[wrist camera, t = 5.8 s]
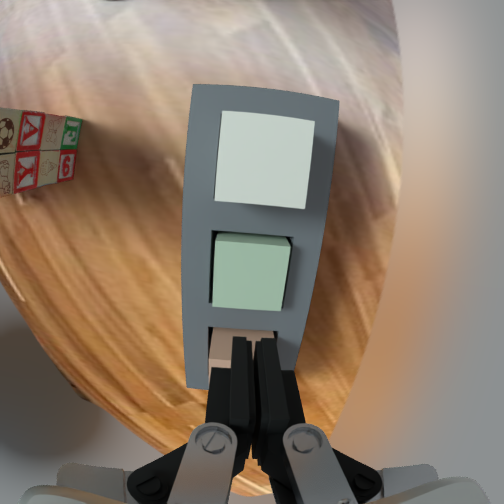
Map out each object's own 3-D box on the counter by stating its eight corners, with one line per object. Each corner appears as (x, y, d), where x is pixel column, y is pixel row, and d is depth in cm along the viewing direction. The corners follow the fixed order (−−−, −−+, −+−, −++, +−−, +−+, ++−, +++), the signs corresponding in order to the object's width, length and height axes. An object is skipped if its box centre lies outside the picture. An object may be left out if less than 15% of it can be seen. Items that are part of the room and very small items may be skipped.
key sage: (221, 223, 23) (215, 240, 18) (280, 228, 23) (290, 246, 18) (217, 277, 24) (212, 306, 20) (273, 282, 25) (280, 311, 20)
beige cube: (214, 320, 23) (208, 358, 18) (272, 324, 23) (278, 362, 19) (213, 362, 25) (208, 401, 20) (265, 365, 25) (269, 404, 20)
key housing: (203, 99, 20) (191, 82, 15) (320, 111, 21) (342, 99, 15) (193, 355, 29) (185, 391, 23) (282, 361, 29) (288, 397, 24)
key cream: (227, 122, 18) (222, 110, 13) (297, 130, 18) (314, 121, 13) (221, 190, 19) (214, 200, 15) (290, 196, 20) (304, 209, 15)
